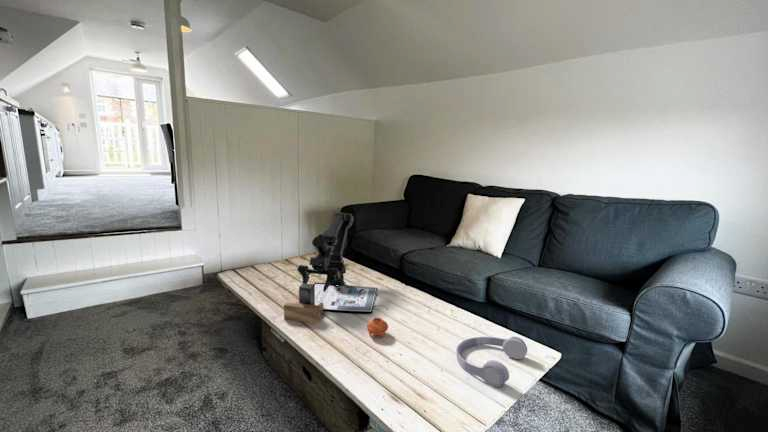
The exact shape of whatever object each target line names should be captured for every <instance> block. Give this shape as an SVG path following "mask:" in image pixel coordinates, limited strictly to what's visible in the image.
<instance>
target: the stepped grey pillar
mask: <svg viewBox="0 0 768 432" xmlns="http://www.w3.org/2000/svg"><path fill="white" fill-rule="evenodd" d="M315 287H316V286H315V284H313V283H307V284H305V283H303V282H302V284H301V285H300V286H299V287H298V297H299V299H298V302H299V304H307V305H316V304H315V303H316V298H315V296H316V295H315V292H316V289H315Z"/></svg>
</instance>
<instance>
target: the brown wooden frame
mask: <svg viewBox="0 0 768 432" xmlns="http://www.w3.org/2000/svg"><path fill="white" fill-rule="evenodd" d="M323 312H324V302H320V303H319V304H318V305H316V304H315V305H307V304H299V301H298V302H291V301H290V302H289V301H287V302H286V303H285V304H284V305H283V317H284V318H283V319H284V320H289V321H296V322H302V323H303V322H304V323H311V324H318V323H319V321H320V320H321V317H320V316H321V314H322V313H323Z"/></svg>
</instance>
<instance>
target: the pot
mask: <svg viewBox="0 0 768 432" xmlns="http://www.w3.org/2000/svg"><path fill="white" fill-rule="evenodd" d="M366 329H367V331H368V333H369V334H368V335H369V336H372V334H373V335H375V336H379V335H380V337H381V339H383V338H384V337H385V333H386V332H387V331H388V329H389V324H388V323H387V321H386V320H384V319H382V317H374V318H373V319H371V320H370V321H369V322H368V323H367V325H366Z"/></svg>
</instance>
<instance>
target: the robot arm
mask: <svg viewBox="0 0 768 432" xmlns="http://www.w3.org/2000/svg"><path fill="white" fill-rule="evenodd" d="M353 223H354V215H353V214H352V213H344V212H335V214H334V218H333V220H332V222H331V223H330V226H328V229H327V230H324V231H323V233H321V234H320V233H319V234H318V236H316V237H314V238H313V239H312V242H311V243H312V246H313V247H314V249H315V251H316V252H317V256H315V257H310V258H309V259H310V260H309V266H311V268H309V266H308V265H304V264H303V265H302V264H299V265H298V267H297V270H296V271H297V272H298V274H299V275H301V277H302V284H303V283H305V284H309V283H308V282H309V280H310V274H314V275H315V274H316V275H325V276H326V280H325V282H324V286H323V288H322V289H323V290H322V291H323V292H325V293H326V291H327V289H328V288H329V287H330V286H333V285H340V286H341V285H344V284H345V283H346V282H345V279H344V277H345V276H344V274H346V272H347V267H346V264H345V260H344V257H343V252H344V249H345V245H346V244H345V243H346V239H347V234H348V231H349V230H350V229H351V227H352V225H353ZM331 247H333V249H332V248H331ZM331 284H332V285H331Z"/></svg>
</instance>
